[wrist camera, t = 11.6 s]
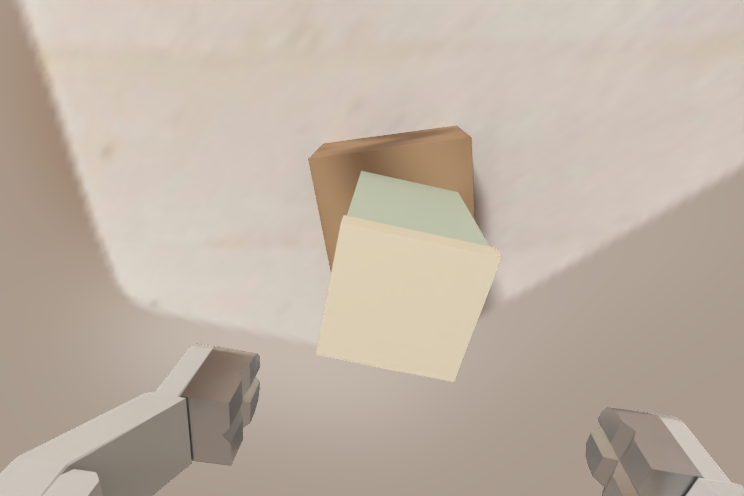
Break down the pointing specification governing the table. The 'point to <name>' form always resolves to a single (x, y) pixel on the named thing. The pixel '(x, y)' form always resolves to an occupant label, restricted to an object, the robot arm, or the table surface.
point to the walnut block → (389, 169)
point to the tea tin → (406, 279)
